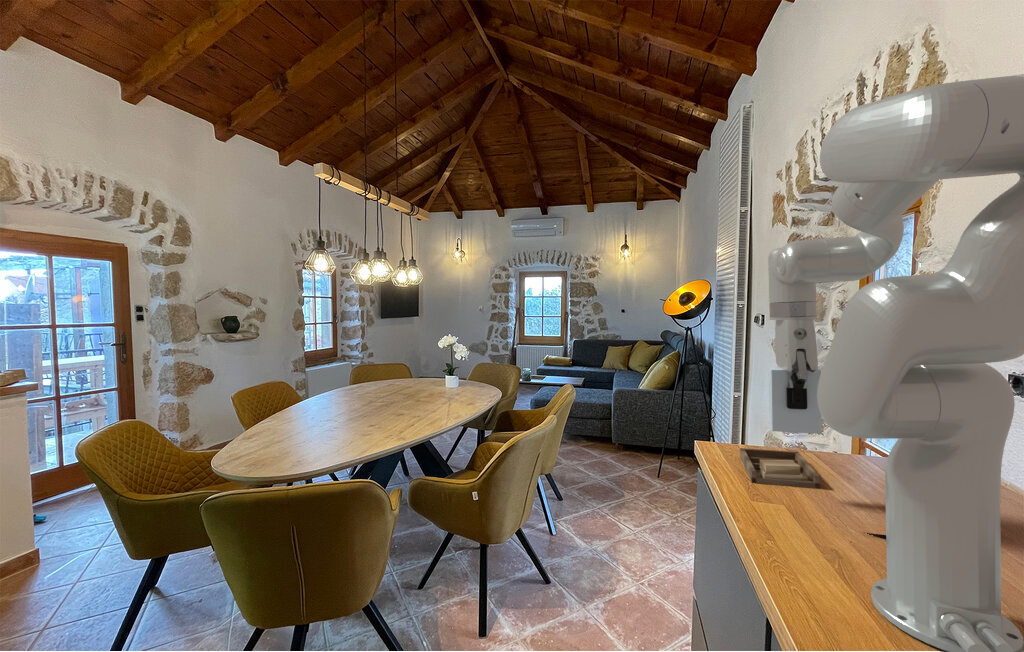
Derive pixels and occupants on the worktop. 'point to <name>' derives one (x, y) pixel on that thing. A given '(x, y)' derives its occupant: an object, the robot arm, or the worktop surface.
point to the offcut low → (782, 476)
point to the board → (793, 418)
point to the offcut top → (780, 467)
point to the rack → (753, 457)
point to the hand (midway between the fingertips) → (794, 406)
